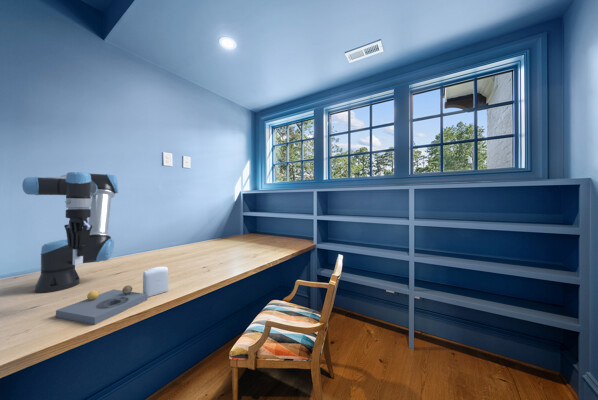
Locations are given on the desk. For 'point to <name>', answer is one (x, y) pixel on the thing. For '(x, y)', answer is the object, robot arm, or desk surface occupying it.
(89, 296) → the ball
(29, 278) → the desk surface
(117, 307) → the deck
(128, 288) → the cork ball
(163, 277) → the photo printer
